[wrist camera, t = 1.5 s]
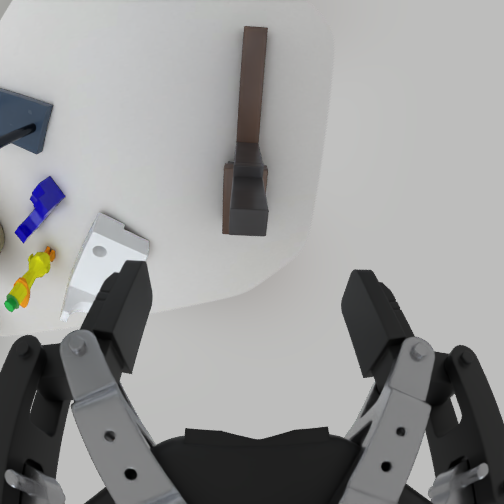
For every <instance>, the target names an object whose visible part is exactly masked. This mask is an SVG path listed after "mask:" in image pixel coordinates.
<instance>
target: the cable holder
mask: <svg viewBox="0 0 504 504" xmlns="http://www.w3.org/2000/svg"><path fill="white" fill-rule="evenodd" d="M64 198H65V195H64V194H63V193H62V191H61V190H60V189H59V187H58V186H57V185H56V183H55V182H54V181H53V179H52V178H51V177H50V176H49V177H48V178H46V179H45V180H43V181H42V182H40V183H39V184H38V185H37V187H36V188H35V189H34V191H33V192H32V196H31V198H30V200H31V201H32V203H33V204H34V205H33V206H34V207H35V209H34V210H33V212H32V213H31V214H30V215H29V216H28V217H27V218H26V220H25V221H24V222H23V223H22V224H21V225H20V226H19V227H18V228H17V230H16V231H15V234H16V235H17V236H18V237H19V239H20V240H21V241H22V242H23V243H24V242H25V241H26V240H27V239H28V238H29V237H30V236H31V235H32V234H33V233H34V232H35V231H36V230H37V229H38V228H39V227H40V225H41V224H42V223H43V222H44V220H45V219H46V218H47V217H48V216H49V214H50V213H51V212H52V211H53V210H54V209H55V208H56V206H57V205H58V204H59V203H60V202H61V201H62V200H63V199H64Z"/></svg>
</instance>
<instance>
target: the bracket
mask: <svg viewBox="0 0 504 504" xmlns="http://www.w3.org/2000/svg"><path fill="white" fill-rule="evenodd" d="M124 226H125V224H123V223H121V222H119V221H117V220H115V219H113V218H111V217H109V216H107V215H105V214H103V213H100V212H99V214H98V216H97V218H96V219H95V221H94V223H93V225H92V227H91V230H90V232H89V234H88V236H87V238H86V240H85V242H84V244H83V247H82V249H81V251H80V253H79V255H78V258H77V260H76V262H75V265H74V267H73V270H72V272H71V275H70V277H69V281H68V285H67V289H66V293H65V298H64V302H63V306H62V311H61V316H60V320H61V321H64V322H66V321H67V319H68V317H69V315H70V314H72V313H74V312H77V311H82V312H86V313H88V312H89V310H90V308H91V306H92V304H93V302H94V300H95V298H96V296H97V294H98V292H100V288H101V286H102V284H103V283H104V281H105V280H106V279H107V278H108V277H109V276H110V275H111V274H112V273H114V272H118V273H119V272H120V270H121V268H122V266H123V264H124V263H125V261H126V260H136V261H145V260H146V258H147V257H148V252H149V241H148V240H146V239H144V238H142V237H139V236H137V235H135V234H133V233H131V232H129V231H127V230H124Z"/></svg>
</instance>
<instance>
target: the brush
mask: <svg viewBox="0 0 504 504" xmlns="http://www.w3.org/2000/svg"><path fill="white" fill-rule="evenodd" d="M267 30H268V28H264V27H250V26H245V27H244V37H243V50H242V63H241V77H240V92H239V108H238V124H237V142H236V150H235V158H234V162H228V163H225V166H224V182H223V225H222V234H229V235H246V236H266V230H267V221H268V212H269V211H268V205H267V199H266V186H267V175H268V169H267V166H266V165H264V164H263V162H262V158H261V153H260V149H259V144H258V142H259V129H260V117H261V104H262V92H263V79H264V67H265V55H266V43H267Z"/></svg>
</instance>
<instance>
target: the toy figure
mask: <svg viewBox="0 0 504 504" xmlns="http://www.w3.org/2000/svg"><path fill="white" fill-rule="evenodd" d="M54 259H55V251H54V250H51V253H50V247H48V246H47V248H46V250H45V252H37V253H36V254H35V256H34V257H33V254H31V255H30V256H29V258H28V262H29V271H28V272H27V273H26V274H25V275H24V276H23V277H22V278H19V279H18V280H17V281H16V282H15V284H14V287H13V289H12V290H11V291H10V293H9V294H8V295H7V301H5V303H4V304H5V307H6V308H7V309H8V310H9V311H11V312H13V310H14V309H18V308H19V305H21V306H22V307H23V308H25V307H26V306H27V304H28V302H29V298H30V288H31V286H32V285H33V283H34V281H35V279H36V278H39V277H43V276H44V274H45V273H48V272H49V270H50V261H51V262H53V260H54Z"/></svg>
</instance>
